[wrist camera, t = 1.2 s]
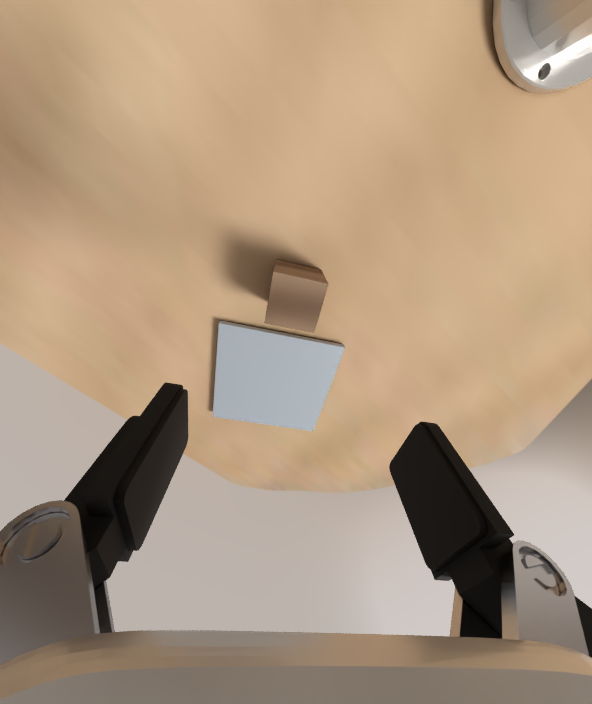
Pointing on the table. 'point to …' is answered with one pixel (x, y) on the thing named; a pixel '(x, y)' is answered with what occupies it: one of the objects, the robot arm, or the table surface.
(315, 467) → the table surface
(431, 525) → the robot arm
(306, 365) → the slate board
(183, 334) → the table surface
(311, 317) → the walnut block
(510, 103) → the table surface
